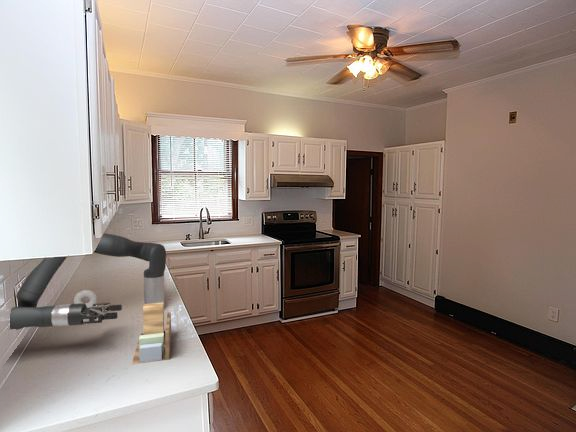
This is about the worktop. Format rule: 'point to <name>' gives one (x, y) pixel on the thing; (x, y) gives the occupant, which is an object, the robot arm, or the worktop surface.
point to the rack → (166, 343)
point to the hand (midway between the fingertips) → (119, 311)
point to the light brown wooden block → (153, 318)
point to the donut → (86, 293)
